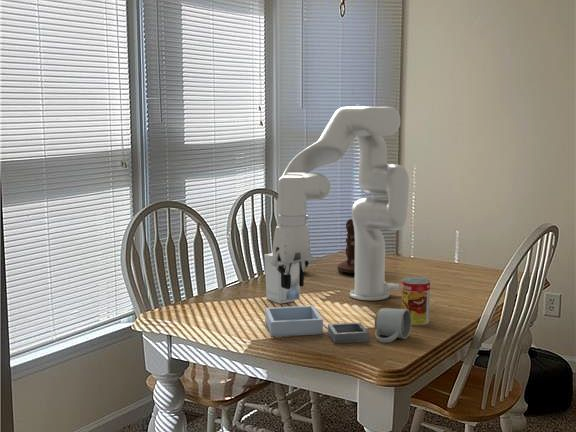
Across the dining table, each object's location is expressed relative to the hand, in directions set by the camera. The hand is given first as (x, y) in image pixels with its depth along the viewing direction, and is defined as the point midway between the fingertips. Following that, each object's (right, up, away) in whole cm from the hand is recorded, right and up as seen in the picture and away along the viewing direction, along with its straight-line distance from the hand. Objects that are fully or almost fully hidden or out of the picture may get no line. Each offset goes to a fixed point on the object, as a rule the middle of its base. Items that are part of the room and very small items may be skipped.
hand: (292, 286), depth 207 cm
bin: (0, -12, +2) cm, 12 cm away
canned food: (+35, -11, +7) cm, 37 cm away
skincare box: (-4, -7, +30) cm, 32 cm away
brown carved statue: (+24, -1, +67) cm, 71 cm away
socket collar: (+15, -13, -7) cm, 21 cm away
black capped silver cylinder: (0, -3, +1) cm, 3 cm away
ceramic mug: (+26, -13, -7) cm, 30 cm away
